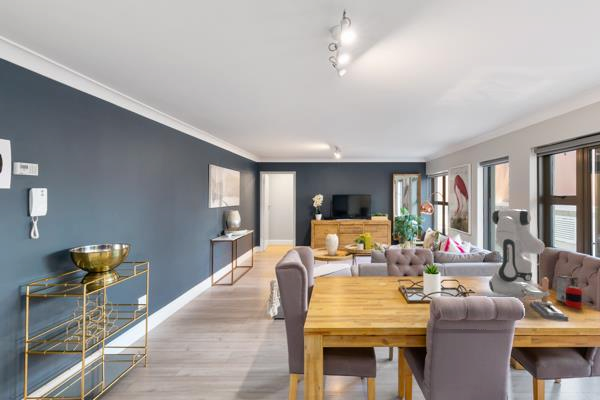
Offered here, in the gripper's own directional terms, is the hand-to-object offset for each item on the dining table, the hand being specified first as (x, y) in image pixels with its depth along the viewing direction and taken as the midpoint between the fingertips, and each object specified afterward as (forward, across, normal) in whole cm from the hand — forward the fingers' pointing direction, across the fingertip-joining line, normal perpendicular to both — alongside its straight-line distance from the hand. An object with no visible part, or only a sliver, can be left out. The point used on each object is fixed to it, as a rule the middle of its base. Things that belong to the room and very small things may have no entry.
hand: (546, 291), depth 190 cm
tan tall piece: (-1, 0, +9) cm, 9 cm away
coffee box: (+20, +24, +11) cm, 34 cm away
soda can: (+19, +13, +11) cm, 26 cm away
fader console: (-1, -5, +11) cm, 12 cm away
